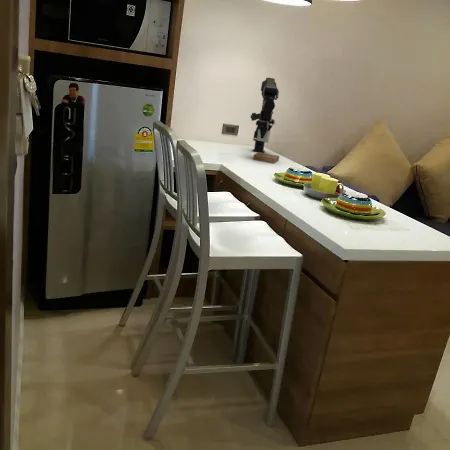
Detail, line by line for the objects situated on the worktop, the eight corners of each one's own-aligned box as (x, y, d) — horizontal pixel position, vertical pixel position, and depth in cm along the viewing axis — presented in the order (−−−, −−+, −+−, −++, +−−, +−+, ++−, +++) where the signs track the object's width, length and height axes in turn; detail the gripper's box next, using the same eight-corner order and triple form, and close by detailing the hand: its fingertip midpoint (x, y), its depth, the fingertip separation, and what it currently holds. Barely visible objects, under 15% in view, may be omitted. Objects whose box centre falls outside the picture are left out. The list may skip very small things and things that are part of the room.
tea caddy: (259, 139, 288) (260, 128, 287) (268, 141, 287) (270, 130, 285) (256, 140, 283) (258, 129, 282) (266, 142, 282) (268, 131, 280)
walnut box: (257, 157, 295) (258, 152, 294) (278, 161, 292) (279, 155, 291) (252, 160, 284) (253, 154, 283) (274, 164, 281) (275, 158, 280)
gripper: (257, 106, 291) (253, 134, 295) (248, 107, 274) (244, 137, 278) (277, 109, 288) (272, 137, 292) (269, 111, 271) (264, 140, 275)
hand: (263, 138), depth 285 cm, fingers closed on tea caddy, 5 cm apart
